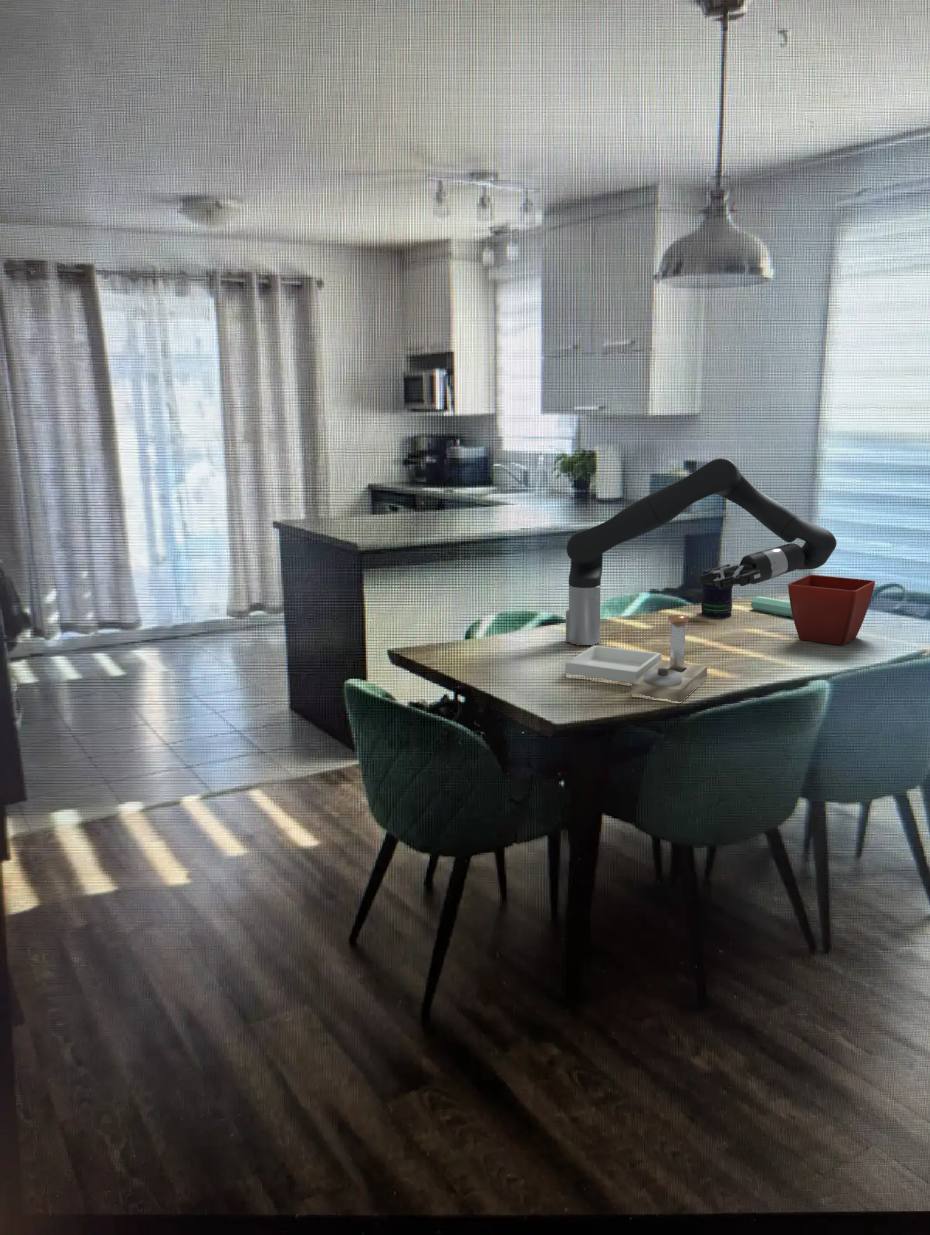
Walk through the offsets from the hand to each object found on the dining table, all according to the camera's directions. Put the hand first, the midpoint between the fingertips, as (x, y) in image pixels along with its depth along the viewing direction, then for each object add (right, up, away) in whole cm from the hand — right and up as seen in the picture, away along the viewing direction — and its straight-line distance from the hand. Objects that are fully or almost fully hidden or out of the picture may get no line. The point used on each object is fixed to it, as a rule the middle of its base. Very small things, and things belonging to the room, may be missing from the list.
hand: (709, 582), depth 227 cm
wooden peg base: (-10, -26, -2) cm, 28 cm away
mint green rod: (+43, -8, +70) cm, 83 cm away
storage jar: (+22, -8, +72) cm, 76 cm away
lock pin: (-8, -25, +2) cm, 26 cm away
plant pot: (+46, -15, +41) cm, 63 cm away
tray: (-22, -23, +11) cm, 34 cm away
